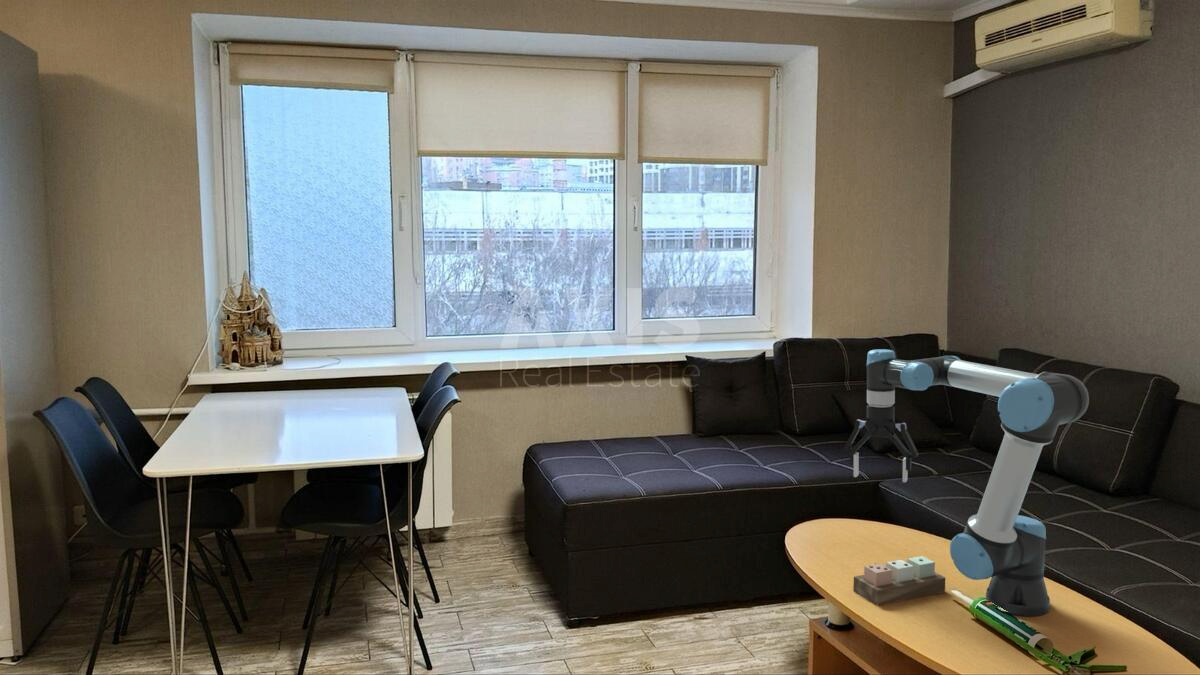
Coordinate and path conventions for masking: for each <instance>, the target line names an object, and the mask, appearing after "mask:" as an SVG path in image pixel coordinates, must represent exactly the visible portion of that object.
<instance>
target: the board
mask: <svg viewBox="0 0 1200 675" xmlns="http://www.w3.org/2000/svg"><path fill="white" fill-rule="evenodd" d="M852 587H853V589H852V590H853V592H854V593H856V594H858V595H860V596H861V597H863V598H864V599H866V600H868V601H869V602H871V603H873V604H874V605H876V606H879V605H885V604H890V603H894V602H899V601H900V602H901V601H905V600H910V599H915V598H919V597H921V598H922V597H925V596H930V595H935V594H936V595H937V594H940V593H945V592H946V577H945V576H943V575H941V574H940V573H937V572H936V571H935V573H934V576H930V577H924V578H917V577H916V576H914V575H913V580H908V581H903V582H896V581H894V580H892V584H887V585H882V586H874V585H872V584H870V583H869V582H867V581H865V580H864V574H861V575H855V576H853V586H852Z"/></svg>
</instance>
